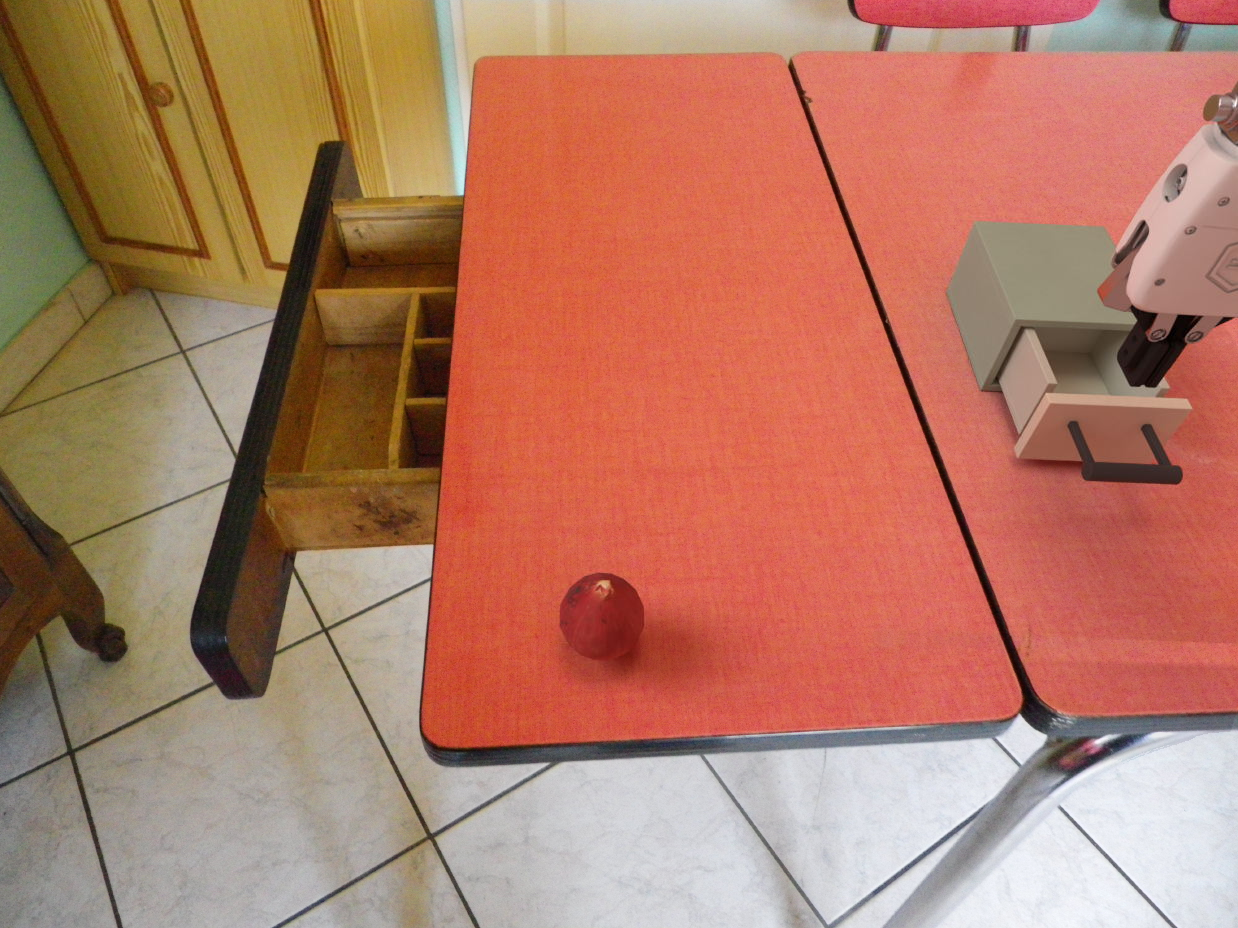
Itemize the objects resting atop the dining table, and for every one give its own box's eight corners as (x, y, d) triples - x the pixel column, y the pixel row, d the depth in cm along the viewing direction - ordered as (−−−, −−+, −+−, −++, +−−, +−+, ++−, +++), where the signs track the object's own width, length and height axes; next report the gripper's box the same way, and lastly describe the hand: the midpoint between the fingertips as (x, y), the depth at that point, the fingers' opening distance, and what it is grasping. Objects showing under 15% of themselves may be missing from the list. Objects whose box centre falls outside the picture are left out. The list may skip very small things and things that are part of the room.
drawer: (1177, 519, 69) (1225, 465, 63) (1036, 513, 69) (1073, 458, 63) (1097, 357, 81) (1132, 300, 76) (978, 352, 81) (1005, 295, 76)
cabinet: (1115, 396, 79) (1162, 325, 72) (980, 390, 79) (1015, 319, 72) (1066, 297, 88) (1104, 226, 82) (945, 292, 88) (974, 220, 82)
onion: (547, 661, 60) (542, 602, 54) (580, 596, 63) (580, 534, 57) (623, 692, 59) (627, 635, 52) (653, 624, 62) (660, 563, 56)
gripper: (1190, 151, 43) (1042, 406, 57) (1488, 166, 43) (1266, 418, 57) (1137, 82, 48) (1013, 332, 62) (1405, 95, 48) (1219, 343, 62)
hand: (1134, 373), depth 59 cm, fingers closed
